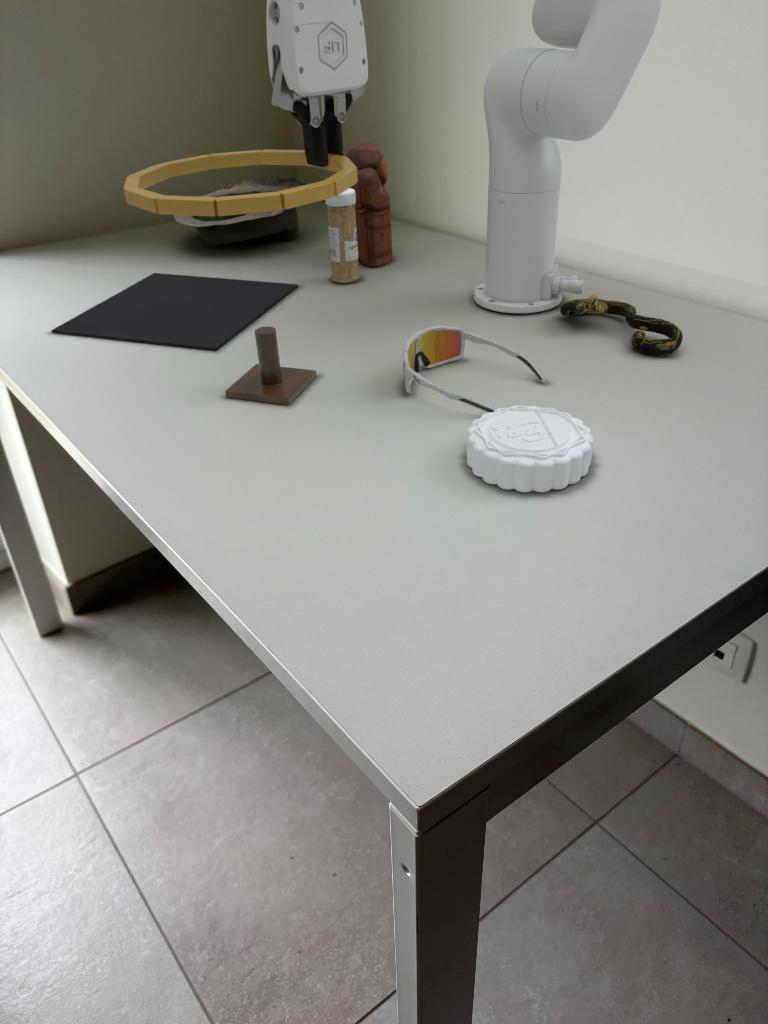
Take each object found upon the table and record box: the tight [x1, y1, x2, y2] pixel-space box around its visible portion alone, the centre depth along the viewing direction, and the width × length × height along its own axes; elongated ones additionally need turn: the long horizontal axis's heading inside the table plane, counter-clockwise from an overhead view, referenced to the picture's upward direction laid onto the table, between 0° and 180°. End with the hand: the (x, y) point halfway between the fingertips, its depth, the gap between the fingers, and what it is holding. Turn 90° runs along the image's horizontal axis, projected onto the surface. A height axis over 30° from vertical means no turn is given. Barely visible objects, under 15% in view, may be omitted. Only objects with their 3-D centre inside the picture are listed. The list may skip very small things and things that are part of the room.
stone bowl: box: [173, 176, 308, 248], centre depth 145 cm, size 25×25×9 cm
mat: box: [51, 272, 299, 352], centre depth 118 cm, size 26×26×1 cm
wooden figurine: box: [345, 141, 393, 268], centre depth 130 cm, size 12×6×18 cm, turn 24°
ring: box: [122, 148, 358, 216], centre depth 83 cm, size 23×23×1 cm
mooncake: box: [465, 404, 595, 493], centre depth 77 cm, size 12×12×4 cm
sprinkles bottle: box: [324, 188, 361, 284], centre depth 123 cm, size 5×5×14 cm
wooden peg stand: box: [225, 326, 317, 406], centre depth 92 cm, size 8×8×7 cm
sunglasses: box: [402, 325, 546, 413], centre depth 92 cm, size 14×15×5 cm
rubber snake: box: [559, 293, 684, 356], centre depth 103 cm, size 18×5×10 cm
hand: (324, 162), depth 89 cm, fingers closed on ring, 1 cm apart
